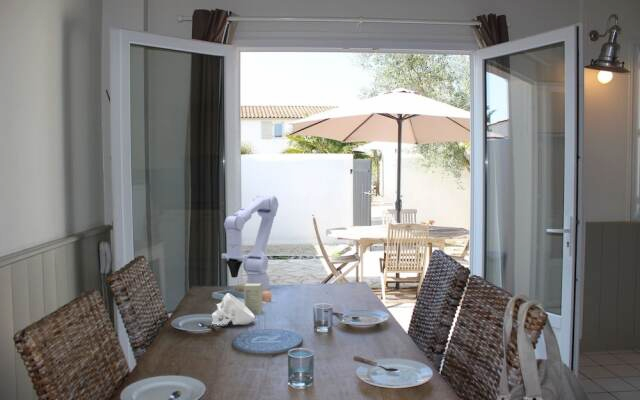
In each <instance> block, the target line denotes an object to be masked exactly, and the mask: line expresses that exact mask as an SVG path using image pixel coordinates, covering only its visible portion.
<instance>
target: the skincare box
mask: <svg viewBox="0 0 640 400" xmlns="http://www.w3.org/2000/svg"><path fill="white" fill-rule="evenodd" d="M243 285H244V305H245V306H246V307H247V308H248V309H249V310H250V311H251V312H252V313H253V314H254V315H261V314H262V313H263V312H264V308H263V307H264V306H263V305H264V304H263V303H262V283H261V284H247V283H245V284H243ZM255 318H257V317H256V316H255ZM255 318H254V319H255Z"/></svg>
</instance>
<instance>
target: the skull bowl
mask: <svg viewBox="0 0 640 400" xmlns="http://www.w3.org/2000/svg"><path fill="white" fill-rule="evenodd" d="M216 307H217V309H215V311H214V312H212V314H211V317H212V322H211V323H212V324H217V325H219V324H220V325H222V324H227V325H228V324H229V323H231V322H232V325H241V326H242V325H243V326H244V325H249V324H250V323H252V322H253V321H254V319H255V317H256V316H255V314H253V313H252V312H251V311H250V310H249V309H248V308H247V307H246V306H245V305H244V304H243V303H242V302H240V301H239V300H238V299H236V298H235V297H234V296H233V295H231V294H229V293H227V294H226V295H225V296H224V298H223V300H221V302H219V303H216ZM222 319H223V320H222ZM219 320H222V321H219ZM212 324H211V325H212Z"/></svg>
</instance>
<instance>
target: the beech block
mask: <svg viewBox="0 0 640 400" xmlns="http://www.w3.org/2000/svg"><path fill="white" fill-rule="evenodd" d="M244 285H245V284H237V285H234V291H236V292H241V293H244Z"/></svg>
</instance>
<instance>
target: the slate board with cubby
mask: <svg viewBox="0 0 640 400" xmlns="http://www.w3.org/2000/svg"><path fill="white" fill-rule="evenodd" d="M227 293H229V294H231V295H233V296H234V297H235V298H236V299H238V300H239V301H240V302H242V303H243V304H244V293H241V292H236V291H235V290H231V289H225V290H219V291H214V292H212V293H211V297H212V298H213V299H217V300H221V301H222V300H223V298H224V296H225V295H226V294H227ZM277 301H278V299H273V298H271V302H263V301H262V303H263V305H264V304H269V303H272V302H277Z"/></svg>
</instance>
